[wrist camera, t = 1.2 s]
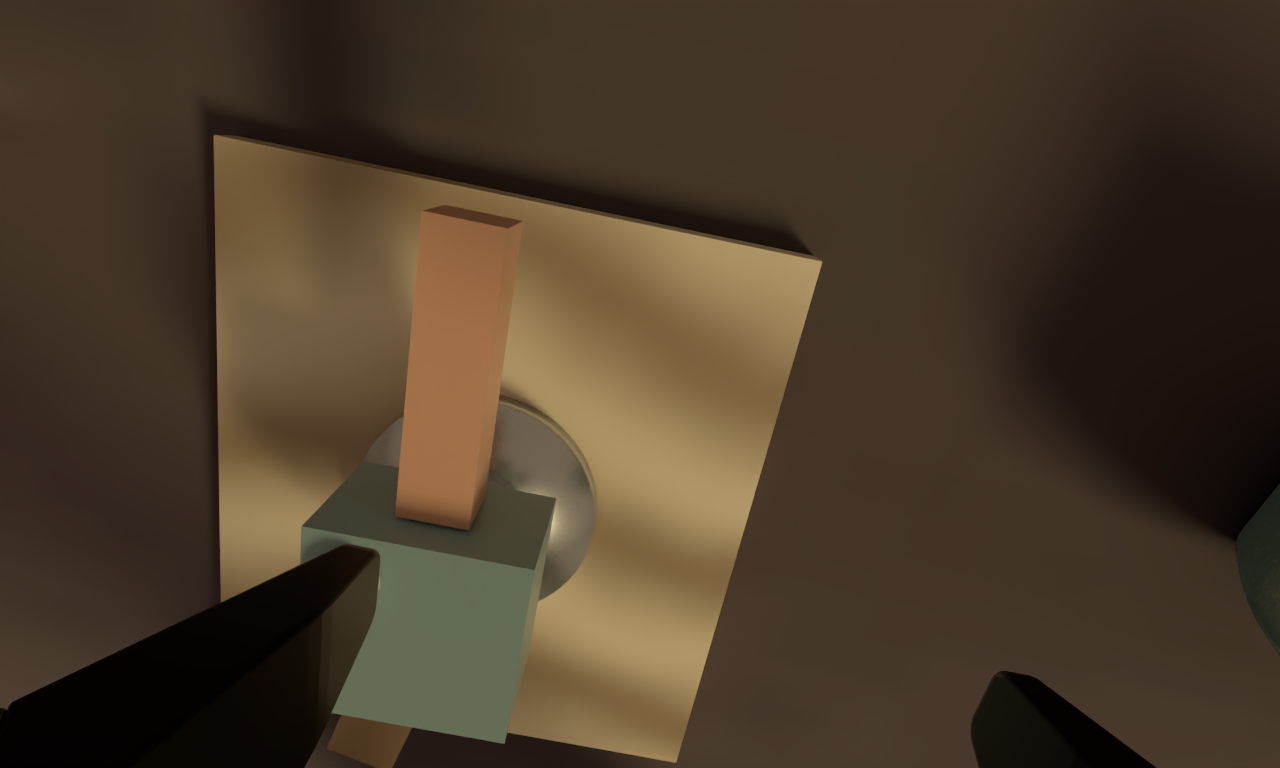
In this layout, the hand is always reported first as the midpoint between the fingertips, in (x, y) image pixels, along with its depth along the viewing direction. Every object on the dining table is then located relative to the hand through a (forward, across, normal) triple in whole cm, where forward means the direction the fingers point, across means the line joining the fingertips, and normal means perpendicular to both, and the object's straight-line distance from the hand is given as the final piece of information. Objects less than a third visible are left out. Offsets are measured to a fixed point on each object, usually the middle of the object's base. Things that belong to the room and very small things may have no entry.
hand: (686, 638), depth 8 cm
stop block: (+12, +6, +12) cm, 18 cm away
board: (+12, +5, +6) cm, 14 cm away
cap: (+8, +5, +2) cm, 9 cm away
